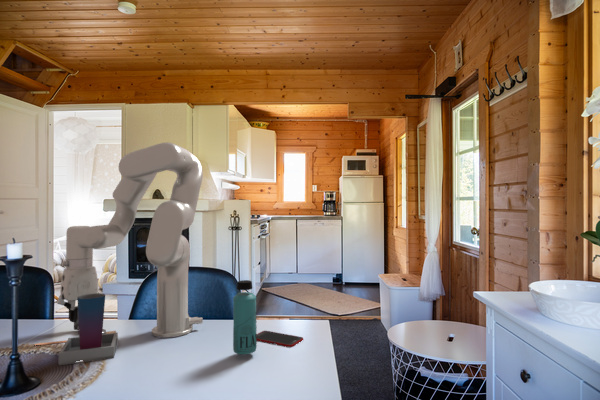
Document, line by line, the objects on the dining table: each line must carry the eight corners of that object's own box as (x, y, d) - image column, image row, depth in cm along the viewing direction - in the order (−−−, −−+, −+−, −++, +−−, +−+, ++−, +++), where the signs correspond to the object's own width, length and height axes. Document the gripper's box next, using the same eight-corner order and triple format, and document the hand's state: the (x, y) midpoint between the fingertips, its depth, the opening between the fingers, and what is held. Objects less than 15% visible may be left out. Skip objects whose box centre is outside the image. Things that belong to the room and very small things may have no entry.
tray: (117, 342, 113) (117, 332, 113) (113, 357, 101) (113, 346, 101) (68, 348, 108) (68, 338, 108) (58, 365, 96) (58, 353, 96)
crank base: (115, 332, 122) (115, 330, 122) (113, 340, 115) (113, 338, 115) (38, 341, 114) (38, 339, 114) (30, 350, 107) (30, 348, 107)
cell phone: (264, 333, 122) (264, 330, 122) (304, 340, 114) (304, 337, 114) (249, 340, 115) (249, 337, 115) (291, 349, 108) (291, 345, 108)
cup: (92, 356, 100) (93, 299, 101) (70, 354, 102) (71, 298, 102) (110, 347, 107) (110, 293, 108) (89, 345, 109) (90, 292, 109)
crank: (108, 334, 117) (109, 311, 117) (92, 339, 113) (92, 315, 113) (84, 325, 126) (85, 304, 127) (68, 329, 122) (68, 307, 123)
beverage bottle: (237, 362, 97) (236, 283, 98) (229, 353, 103) (229, 279, 104) (260, 357, 100) (260, 281, 101) (252, 349, 106) (251, 277, 107)
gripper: (57, 267, 115) (56, 328, 115) (110, 261, 129) (109, 316, 128) (46, 265, 120) (45, 324, 119) (98, 260, 133) (98, 313, 132)
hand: (78, 319), depth 124 cm, fingers closed on crank, 2 cm apart
